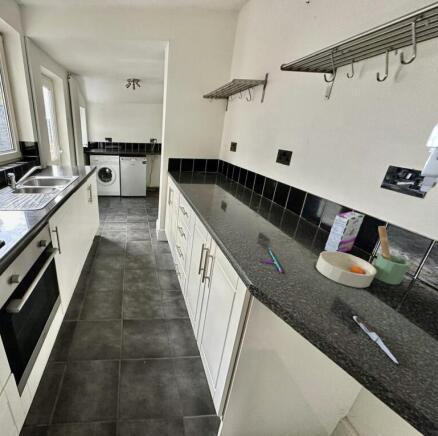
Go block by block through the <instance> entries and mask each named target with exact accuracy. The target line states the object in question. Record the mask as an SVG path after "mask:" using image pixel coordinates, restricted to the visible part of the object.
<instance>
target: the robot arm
mask: <svg viewBox="0 0 438 436" xmlns="http://www.w3.org/2000/svg"><path fill="white" fill-rule="evenodd" d="M425 147H427V148H430V149H429V150H428V153H429V156H428V159H427V160H426V162H425V163H424V166H423V168H422V170H421V173H420V176H421V177H424V178H423V180H422V184H421V186H420V188H419V191H420V192H426V193H428V192H429V191H431V189H434V188H435V187H436V186H437V184H438V122H437V124H435V126H434V127H433V129H432V131H431V133H430V135H429V137H428V139H427V141H426V144H425Z"/></svg>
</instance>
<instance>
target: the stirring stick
mask: <svg viewBox="0 0 438 436" xmlns="http://www.w3.org/2000/svg"><path fill="white" fill-rule="evenodd" d="M377 227H378V236H379V241H380V242H379V243H380V247H381V253H382V254H383V258H385V259H386V260H389V261H391V257H390V254H391V251H390V245H389V239H388V233H387V227H386V226H385V225H379V226H377Z"/></svg>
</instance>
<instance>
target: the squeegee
mask: <svg viewBox="0 0 438 436" xmlns="http://www.w3.org/2000/svg"><path fill="white" fill-rule="evenodd" d="M268 252H269V253H270V255H271V257H272V260H273V261H274V262H273V261H271V260H262V263H266V264H274V265H276V267H277V269H278V271H279V273H280V274H283V270H282V268H281V267H280V265H279V263H278V261H277V259H276V258H275V255H274V254H273V252H272V251H271V250H268Z"/></svg>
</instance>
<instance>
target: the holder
mask: <svg viewBox="0 0 438 436" xmlns="http://www.w3.org/2000/svg"><path fill="white" fill-rule="evenodd" d="M390 257H391V261H389V260H386V259H385V258H383V254H382V252H381V253H379V254H378V255H377V257H376V259H375V262H374V264H372V265H373V267H374V268H375V269H376V271H377V273H376V275H375V277H374V279H376V280H378V281H380V282H384V283H386V284H390V285H400V284H401V283H402V281H403V279H404V277H405V276H406V274H407V272H408V270H409V269H410V266H411V265H412V264H411V262H410V261H409V260H407V259H406V258H403V257H401V256H399V255H396V254H392V253H390Z"/></svg>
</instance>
